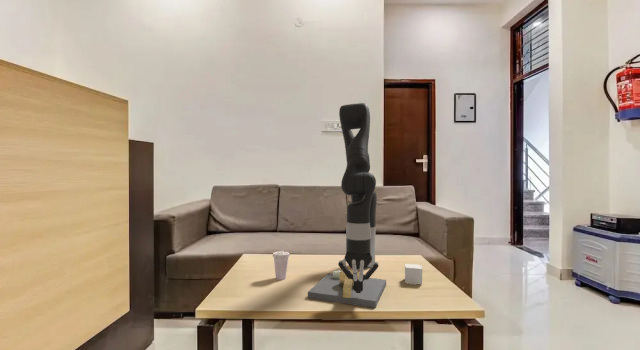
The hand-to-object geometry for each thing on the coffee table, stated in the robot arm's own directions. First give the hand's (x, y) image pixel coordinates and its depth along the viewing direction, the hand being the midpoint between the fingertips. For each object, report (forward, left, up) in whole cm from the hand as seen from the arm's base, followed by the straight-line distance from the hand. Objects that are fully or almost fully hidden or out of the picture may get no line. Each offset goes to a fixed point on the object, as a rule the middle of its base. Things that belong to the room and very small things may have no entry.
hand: (358, 292), depth 104 cm
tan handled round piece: (-4, -4, -1) cm, 6 cm away
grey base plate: (-10, -5, -4) cm, 12 cm away
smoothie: (-14, -33, -4) cm, 36 cm away
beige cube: (-29, +15, -4) cm, 33 cm away
